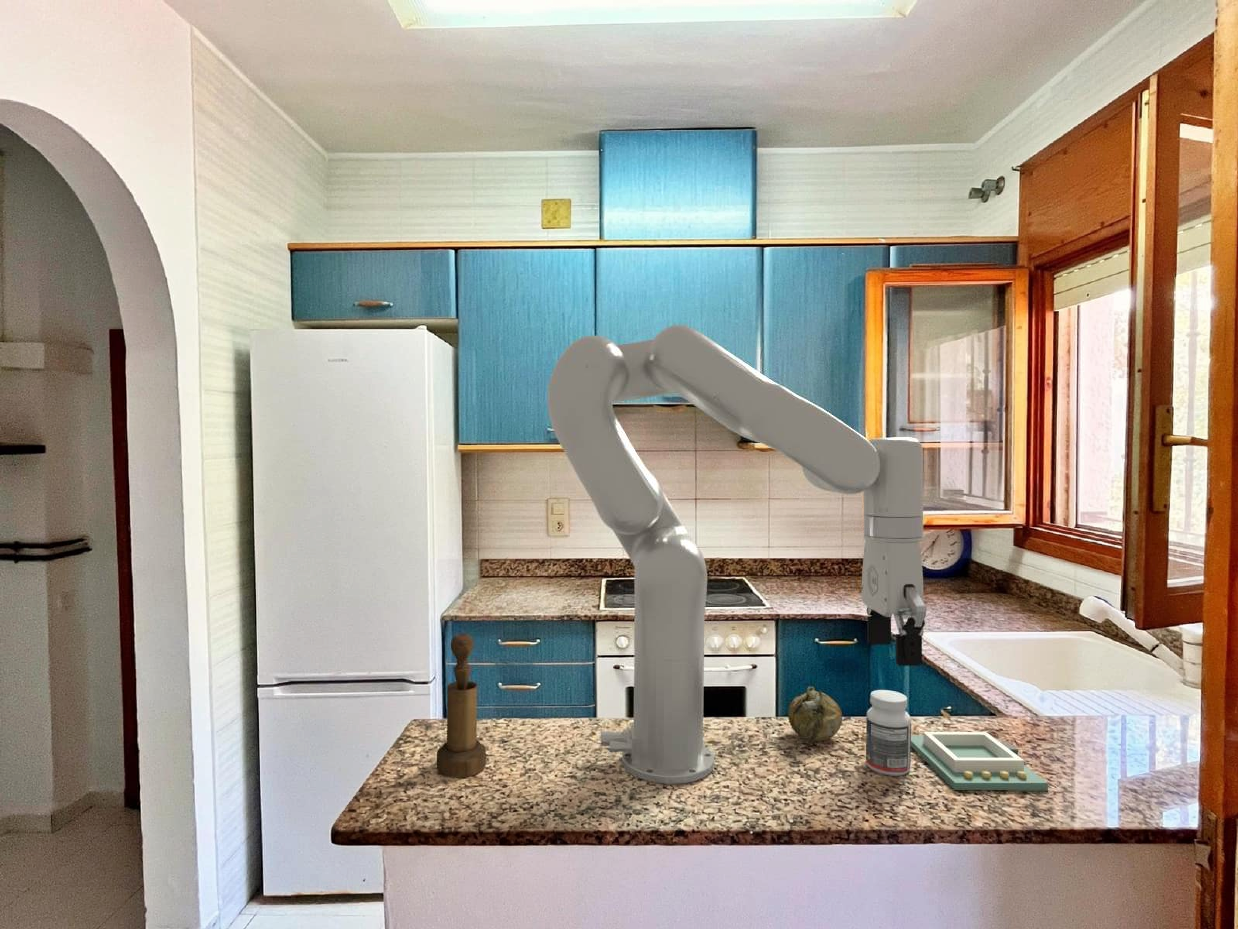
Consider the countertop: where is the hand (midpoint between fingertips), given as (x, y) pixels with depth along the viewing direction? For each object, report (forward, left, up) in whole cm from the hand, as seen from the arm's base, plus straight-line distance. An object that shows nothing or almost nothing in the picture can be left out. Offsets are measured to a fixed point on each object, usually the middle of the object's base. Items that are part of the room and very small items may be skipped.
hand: (893, 654), depth 95 cm
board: (+11, +1, -16) cm, 19 cm away
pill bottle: (-1, 0, -16) cm, 16 cm away
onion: (-8, +10, -16) cm, 20 cm away
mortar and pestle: (-58, 0, -16) cm, 61 cm away
